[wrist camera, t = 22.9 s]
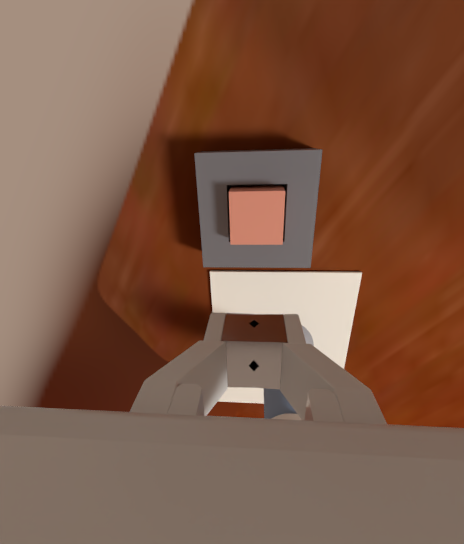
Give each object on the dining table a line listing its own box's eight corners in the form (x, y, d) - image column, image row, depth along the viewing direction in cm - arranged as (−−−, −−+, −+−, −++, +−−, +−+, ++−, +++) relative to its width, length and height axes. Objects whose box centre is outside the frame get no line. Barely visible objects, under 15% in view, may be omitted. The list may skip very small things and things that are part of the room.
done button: (231, 185, 25) (228, 191, 22) (282, 185, 24) (285, 190, 22) (233, 233, 27) (230, 244, 24) (279, 233, 26) (282, 244, 23)
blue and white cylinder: (261, 330, 33) (265, 435, 21) (301, 331, 33) (326, 438, 21) (260, 360, 35) (263, 471, 23) (298, 361, 35) (320, 474, 23)
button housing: (201, 151, 25) (194, 153, 22) (313, 148, 25) (322, 149, 22) (208, 253, 30) (203, 267, 27) (304, 253, 29) (310, 267, 26)
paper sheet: (210, 270, 31) (209, 272, 30) (361, 271, 29) (362, 273, 29) (218, 399, 39) (218, 401, 39) (336, 404, 38) (336, 407, 38)
